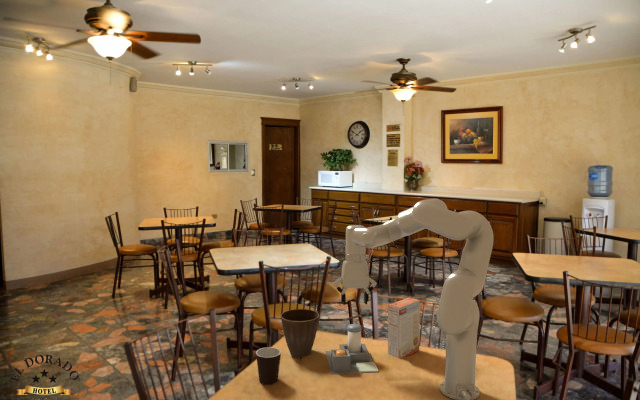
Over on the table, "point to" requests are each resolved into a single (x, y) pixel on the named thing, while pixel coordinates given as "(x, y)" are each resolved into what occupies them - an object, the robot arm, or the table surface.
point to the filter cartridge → (354, 338)
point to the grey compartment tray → (347, 360)
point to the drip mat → (367, 367)
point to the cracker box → (403, 327)
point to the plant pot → (300, 330)
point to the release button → (340, 352)
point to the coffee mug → (268, 365)
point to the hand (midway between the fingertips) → (354, 303)
